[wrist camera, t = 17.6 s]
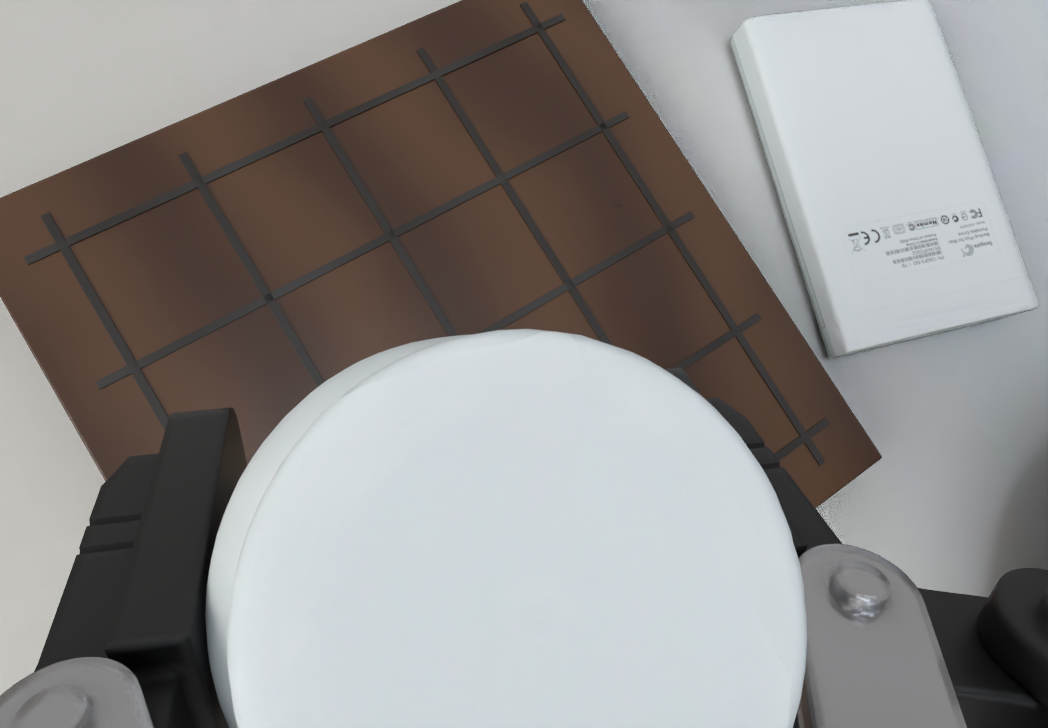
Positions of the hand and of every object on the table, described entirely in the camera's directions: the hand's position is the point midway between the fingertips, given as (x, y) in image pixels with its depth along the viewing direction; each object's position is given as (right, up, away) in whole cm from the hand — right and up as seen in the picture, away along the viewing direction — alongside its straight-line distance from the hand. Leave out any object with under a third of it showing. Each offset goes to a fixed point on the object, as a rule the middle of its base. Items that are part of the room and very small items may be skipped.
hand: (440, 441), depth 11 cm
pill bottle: (-1, -3, +4) cm, 5 cm away
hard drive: (+14, +8, +17) cm, 24 cm away
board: (-1, +1, +13) cm, 13 cm away
